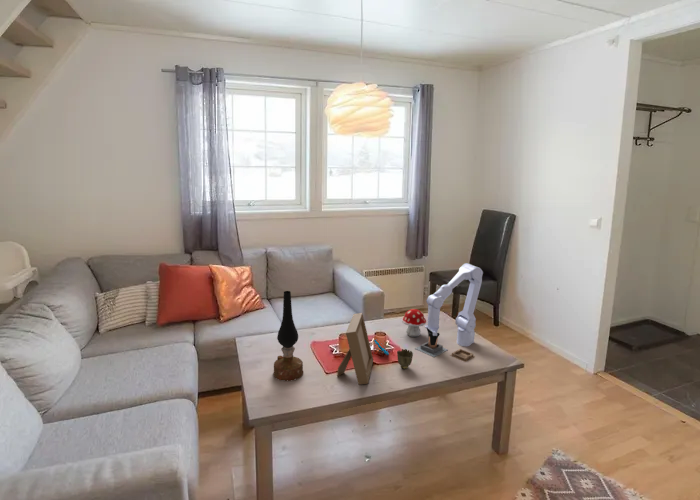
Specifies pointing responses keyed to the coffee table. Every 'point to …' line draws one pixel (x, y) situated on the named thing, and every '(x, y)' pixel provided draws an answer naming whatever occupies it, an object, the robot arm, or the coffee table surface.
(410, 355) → the cup
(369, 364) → the photo frame
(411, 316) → the decorative mushroom
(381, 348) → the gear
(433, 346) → the peg
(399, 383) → the coffee table surface
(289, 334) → the oil lamp
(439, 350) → the socket board
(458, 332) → the robot arm
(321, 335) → the coffee table surface
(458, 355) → the holder
